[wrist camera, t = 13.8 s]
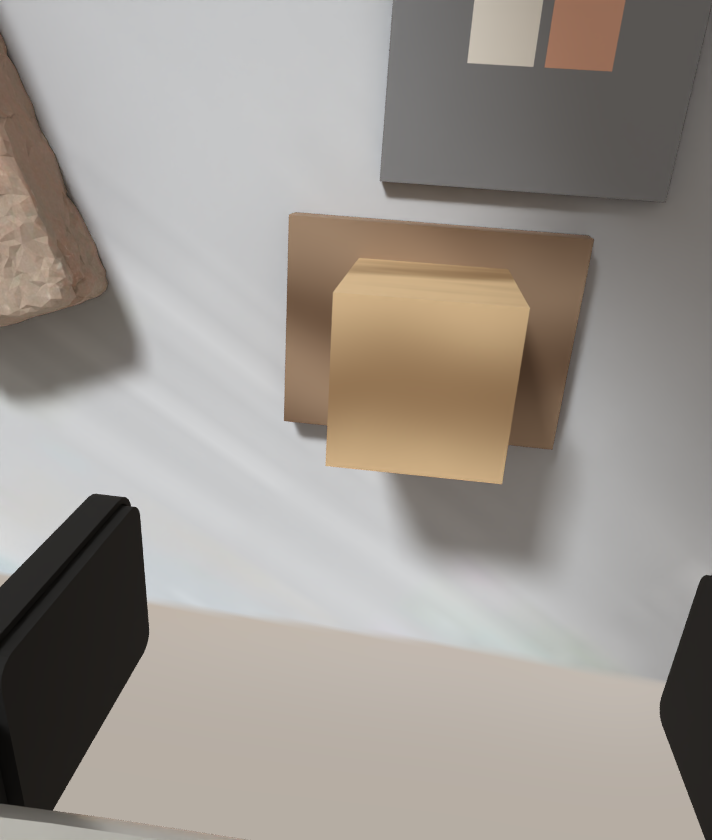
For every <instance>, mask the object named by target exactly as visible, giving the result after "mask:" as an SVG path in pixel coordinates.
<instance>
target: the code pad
mask: <svg viewBox="0 0 712 840" xmlns="http://www.w3.org/2000/svg"><path fill="white" fill-rule="evenodd" d="M711 6H712V0H393V8H392V22H391V35H390V49H389V62H388V76H387V89H386V103H385V117H384V130H383V144H382V157H381V171H380V181H384V182H398V183H411V184H425V185H438V186H452V187H465V188H478V189H492V190H505V191H519V192H532V193H546V194H559V195H572V196H586V197H599V198H613V199H626V200H640V201H653V202H666V198H667V194H668V189H669V185H670V181H671V176H672V172H673V168H674V164H675V159H676V155H677V151H678V147H679V142H680V138H681V134H682V130H683V125H684V121H685V117H686V112H687V108H688V104H689V100H690V95H691V91H692V87H693V83H694V78H695V74H696V70H697V66H698V61H699V57H700V53H701V48H702V44H703V40H704V36H705V31H706V27H707V23H708V19H709V14H710V10H711Z"/></svg>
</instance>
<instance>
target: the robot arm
mask: <svg viewBox="0 0 712 840" xmlns="http://www.w3.org/2000/svg"><path fill="white" fill-rule="evenodd" d="M148 637H149V622H148V609H147V597H146V584H145V572H144V559H143V546H142V534H141V521H140V513H139V510H138V508H136V507H131V504H130V502H129V499H127V498H126V497H118V496H110V495H101V494H92V495H91V496H89V497H88V498H87V499H86V500H85V501H84V502H83V503H82V504H81V505H80V506H79V507H78V508H77V509H76V510H75V511H74V512H73V513H72V514H71V515H70V516H69V517H68V518H67V520H66V521H65V522H64V523H63V524H62V525H61V526H60V527H59V528H58V529H57V530H56V531H55V532H54V533H53V534H52V535H51V536H50V537H49V538H48V539H47V540H46V541H45V542H44V543H43V544H42V545H41V546H40V547H39V548H38V549H37V550H36V551H35V552H34V553H33V554H32V555H31V556H30V557H29V558H28V559H27V560H26V561H25V562H24V563H23V564H22V565H21V566H20V567H19V568H18V569H17V570H16V571H15V573H14V574H13V575H12V576H11V577H10V578H9V579H8V580H7V581H6V582H5V583H4V584H3V585H2V586H1V587H0V840H246V839H239V838H233V837H226V836H220V835H214V834H207V833H200V832H194V831H187V830H181V829H175V828H168V827H162V826H155V825H149V824H142V823H136V822H130V821H123V820H116V819H109V818H103V817H95V816H88V815H81V814H73V813H66V812H58V811H53V809H54V807H55V805H56V804H57V802H58V800H59V799H60V797H61V795H62V793H63V792H64V790H65V788H66V786H67V785H68V783H69V781H70V780H71V778H72V776H73V774H74V773H75V771H76V769H77V767H78V766H79V764H80V762H81V760H82V758H83V757H84V755H85V754H86V752H87V750H88V748H89V747H90V745H91V743H92V741H93V740H94V738H95V736H96V735H97V733H98V731H99V729H100V728H101V726H102V724H103V722H104V720H105V719H106V717H107V715H108V714H109V712H110V710H111V708H112V707H113V705H114V703H115V702H116V700H117V698H118V696H119V694H120V693H121V691H122V689H123V688H124V686H125V684H126V683H127V681H128V679H129V677H130V676H131V674H132V672H133V670H134V668H135V667H136V665H137V663H138V662H139V660H140V658H141V657H142V655H143V653H144V651H145V648H146V646H147V642H148ZM660 718H661V722H662V726H663V728H664V731H665V734H666V736H667V739H668V741H669V744H670V747H671V750H672V752H673V755H674V757H675V760H676V763H677V765H678V768H679V771H680V773H681V776H682V779H683V781H684V784H685V787H686V789H687V792H688V795H689V797H690V800H691V803H692V805H693V808H694V810H695V813H696V816H697V819H698V821H699V824H700V826H701V829H702V832H703V834H704V837H705V839H706V840H712V576H710V575H705V576H703V577H702V578H701V580H700V583H699V585H698V588H697V591H696V594H695V597H694V600H693V603H692V606H691V609H690V612H689V615H688V618H687V621H686V624H685V628H684V631H683V634H682V637H681V640H680V643H679V646H678V649H677V652H676V655H675V658H674V661H673V664H672V667H671V670H670V673H669V676H668V679H667V682H666V685H665V688H664V691H663V694H662V697H661V701H660Z"/></svg>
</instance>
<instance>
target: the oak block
mask: <svg viewBox="0 0 712 840" xmlns="http://www.w3.org/2000/svg"><path fill="white" fill-rule="evenodd" d="M529 311H530V307H529V306H528V304H527V302H526V300H525V298H524V297H523V295H522V293H521V291H520V289H519V288H518V286H517V284H516V282H515V280H514V279H513V277H512V275H511V273H510V272H509V270H508V269H499V268H485V267H472V266H459V265H446V264H432V263H419V262H406V261H393V260H379V259H366V258H359V259H358V260H357V261H356V262H355V264H354V265H353V266H352V268H351V269H350V270H349V272H348V273H347V274H346V276H345V277H344V278H343V280H342V281H341V282H340V284H339V285H338V286H337V288H336V289H335V290H334V292H333V303H332V327H331V351H330V374H329V398H328V422H327V446H326V466H332V467H342V468H351V469H361V470H370V471H380V472H390V473H399V474H409V475H418V476H428V477H438V478H447V479H457V480H466V481H476V482H486V483H495V484H502V480H503V474H504V468H505V462H506V455H507V449H508V443H509V436H510V430H511V424H512V418H513V411H514V405H515V399H516V392H517V386H518V380H519V374H520V367H521V361H522V355H523V348H524V342H525V336H526V330H527V323H528V317H529Z"/></svg>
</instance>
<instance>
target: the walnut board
mask: <svg viewBox="0 0 712 840" xmlns="http://www.w3.org/2000/svg"><path fill="white" fill-rule="evenodd" d="M593 242H594V239H593V238H591V237H589V236H587V235H574V234H562V233H549V232H537V231H524V230H512V229H499V228H486V227H474V226H461V225H449V224H436V223H423V222H411V221H398V220H386V219H373V218H360V217H348V216H335V215H323V214H310V213H297V212H295V213H292V214H290V215H289V235H288V277H287V318H286V360H285V402H284V421H290V422H299V423H308V424H318V425H327V422H328V398H329V374H330V351H331V327H332V303H333V292H334V290H335V289H336V288H337V286H338V285H339V284H340V282H341V281H342V280H343V278H344V277H345V276H346V274H347V273H348V272H349V270H350V269H351V268H352V266H353V265H354V264H355V262H356V261H357V260H358V259H359V258H366V259H379V260H393V261H406V262H419V263H432V264H446V265H459V266H472V267H485V268H499V269H508V270H509V272H510V273H511V275H512V277H513V279H514V280H515V282H516V284H517V286H518V288H519V289H520V291H521V293H522V295H523V297H524V298H525V300H526V302H527V304H528V306H529V307H530V311H529V317H528V323H527V330H526V336H525V342H524V348H523V355H522V361H521V367H520V374H519V380H518V386H517V392H516V399H515V405H514V411H513V418H512V424H511V430H510V436H509V443H508V445H514V446H523V447H533V448H542V449H551V450H552V449H553V444H554V438H555V433H556V428H557V423H558V418H559V413H560V408H561V403H562V398H563V393H564V388H565V383H566V378H567V373H568V368H569V363H570V358H571V353H572V348H573V343H574V338H575V333H576V328H577V323H578V318H579V313H580V307H581V302H582V297H583V292H584V287H585V282H586V277H587V272H588V267H589V262H590V257H591V252H592V247H593Z"/></svg>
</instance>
